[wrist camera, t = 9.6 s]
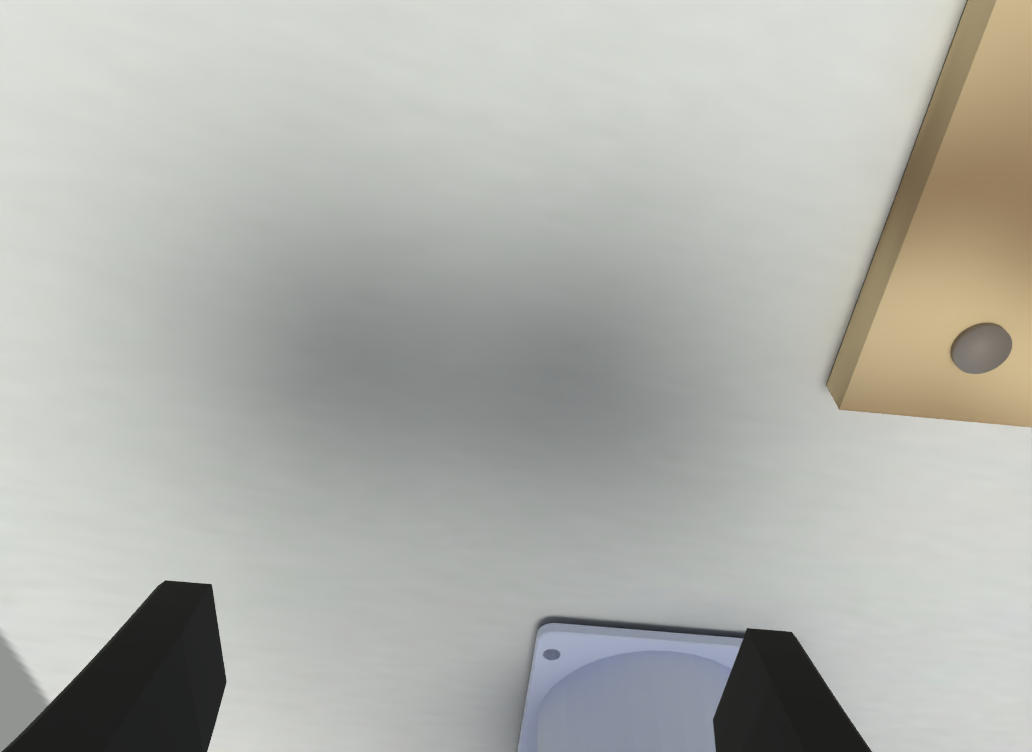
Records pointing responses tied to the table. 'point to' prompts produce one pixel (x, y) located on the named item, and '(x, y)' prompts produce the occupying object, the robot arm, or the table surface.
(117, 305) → the table surface
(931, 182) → the hinge leaf
